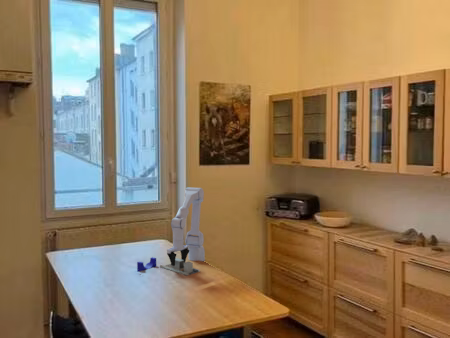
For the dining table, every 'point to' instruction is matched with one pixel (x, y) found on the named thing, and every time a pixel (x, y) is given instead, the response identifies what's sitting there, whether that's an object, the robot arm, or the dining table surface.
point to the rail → (169, 267)
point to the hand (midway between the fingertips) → (178, 263)
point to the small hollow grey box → (188, 267)
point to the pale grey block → (178, 264)
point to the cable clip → (149, 265)
